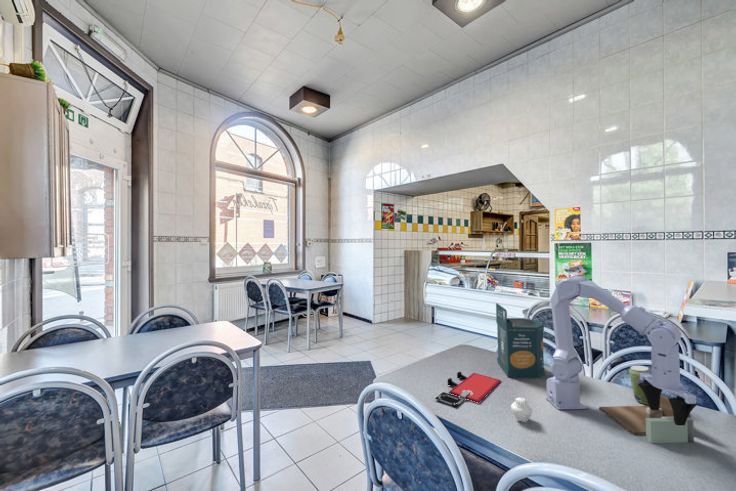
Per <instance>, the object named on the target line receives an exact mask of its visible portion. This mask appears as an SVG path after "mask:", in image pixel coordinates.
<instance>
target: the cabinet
mask: <svg viewBox="0 0 736 491" xmlns="http://www.w3.org/2000/svg"><path fill="white" fill-rule="evenodd" d="M668 398H669V397H668V396H665V395H663V394H661V396H660V407H659V410H651V409H650V408H649V405H648V404H647V405H626V406H624V405H622V406H619V405H618V406H616V405H615V406H598V409H599V411H601V412H602V413H603V414H605V415H607V416H608V417H609V418H610V419H612V420H613V421H615V422H616V424H617V423H618V424H619V425H620V426H622V427H623V428H624V429H626V430H627V431H628V432H629V433H631V434H633V435H634V436H638V435H639V436H642V435H644V436H646V418H674V416H673V409H672V406H671V404H670V402H669V400H668ZM688 418H691V413H690V414H689V416H688Z"/></svg>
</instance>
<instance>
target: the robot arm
mask: <svg viewBox="0 0 736 491" xmlns="http://www.w3.org/2000/svg"><path fill="white" fill-rule="evenodd" d="M577 298H586V299H587V298H588V299H594V300H595V301H597V302H598V303H600V304H602V305H604V306H605V307H606V308H609V309H611V310H612V311H614V312H616V313H617V314H619V316H620V318H621V321H622V322H624V323H625V324H627V325H629V326H630V327H632V328H633V329H635V330H636V331H638V332H639V333H641V334H643V335H644V336H646V338H647V339H648V341H649V343H650V345H651V349H650V350H651V354H650V355H651V359H650V360H651V372H652V375H650V374H647V373H640V380H642V381H644V382H643V383H639V386H640V387H641V389H642V390H643V392H644V394H645V396H646V399H647V402H648V404H647V406H648V405H649V408H650V409H651V410H659V407H660V396H661V395H662V391H665V392H666V393H669V394H671V395H673V396H674V397H667V398H668V400H669V402H670V404H671V406H672V409H673V416H674V422H675V424H676V425H678V426H679V425H685V423H686V421H687V418H688V416H689V414H690V415H691V412H692V410H694V409H695V407H696V406H697V405H698V402H697V396H696V395H695V394H692V393H691V392H690V391H688V390H687V389H685V388H684V385H683V384H682V383H681V370H680V369H681V367H680V365H681V364H680V362H681V361H680V352H679V350H680V349H679V342H680V340H681V338H682V333H681V331H680V329H679V328H678V327H677V326H675V325H674V324H673V323H671V322H665V320H663V319H662V318H657V317H655V316H653V315H652V314H650V313H649V312H647V311H646V308H645V307H643V306H637V305H628V304H626V303H625V302H623V301H622V300H620V299H618V298H617V297H616V296H614V295H612V294H611V293H609V292H608V291H607V290H605V289H604V288H602V287H601V286H599V285H598V284H596V283H595V281H592V280H591V279H590V280H589V279H588V278H587V277H585V276H582V275H576V276H572V277H566V278H563V279H561V280H559V282H557V283H556V284H555V289H554V291H553V293H552V295H551V297H550V303H551V304H550V305H551V315H552V323H553V331H554V332H553V333H554V340H555V342H554V343H555V351H554V353H553V355H552V363H551V365H550V370H551V373H552V375H553V376H552V377H549V378H547V379H546V381H545V382H546V383H545V384H546V396H545V399H546V400H547V401H548V402H549V403H551V405H552V406H554V407H555V408H556V409H557V410H586V409H587V406H585V405H584V404H583V403H581V391H580V390H581V388H580V374H581V373H582V371H583V363H582V362H581V359H580V358H579V354H578V352H577V351H576V350H575V346H574V336H573V327H572V319H571V318H572V317H571V308H570V304H571V303H572V302H573V301H575V299H577Z"/></svg>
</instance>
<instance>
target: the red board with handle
mask: <svg viewBox="0 0 736 491" xmlns="http://www.w3.org/2000/svg"><path fill="white" fill-rule="evenodd" d="M456 376H457V378H460V377H461V378H460V379H463V380H462V381H461V382H459V383H456V382H455V381H453V378H452V377H451V378H450V377H449V378H447V386H448V385H451V386H453V388H452V389H450V390H449V391H448V393H447V392H442V393H440V394H438V395H437V396H436V397H435V398H434V400H437V401H440V402H443V403H446V404H449V405H451V406H454V407H458V406H459V405H461V403H462V402H464V401H463V400H465V399H469V400H472V401H475V402H478V403H479V402H480V401H481V400H482V399H483V398H484V397H485V396H486V395H487V394H488V393H489V392H490V391H491V390H492V389H493V390H494V389H496V388H497V387H498V386H499V384H500V383H501V382H502V380H501V379H498V378H494V377H490V376H487V375H483V374H479V373H475V372H472V373H471V374H470V375H469V376H465V375H464V374H462V371H458V372H456ZM457 378H456V379H457ZM464 379H465V380H464ZM455 386H456V387H455ZM493 390H492V391H493ZM492 391H491V392H492ZM491 392H490V393H491ZM449 393H451V394H454V395H457V396H460V398H459V397H457V396H454V395H451V394H449ZM490 393H489V394H490ZM489 394H488V395H489ZM488 395H487V396H488ZM487 396H486V397H487ZM486 397H485V398H486ZM485 398H484V399H485ZM484 399H483V400H484ZM483 400H482V401H483ZM465 401H466V400H465ZM482 401H481V402H482ZM481 402H480V403H481ZM456 403H457V404H456ZM480 403H479V404H480ZM454 404H455V405H454Z"/></svg>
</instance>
